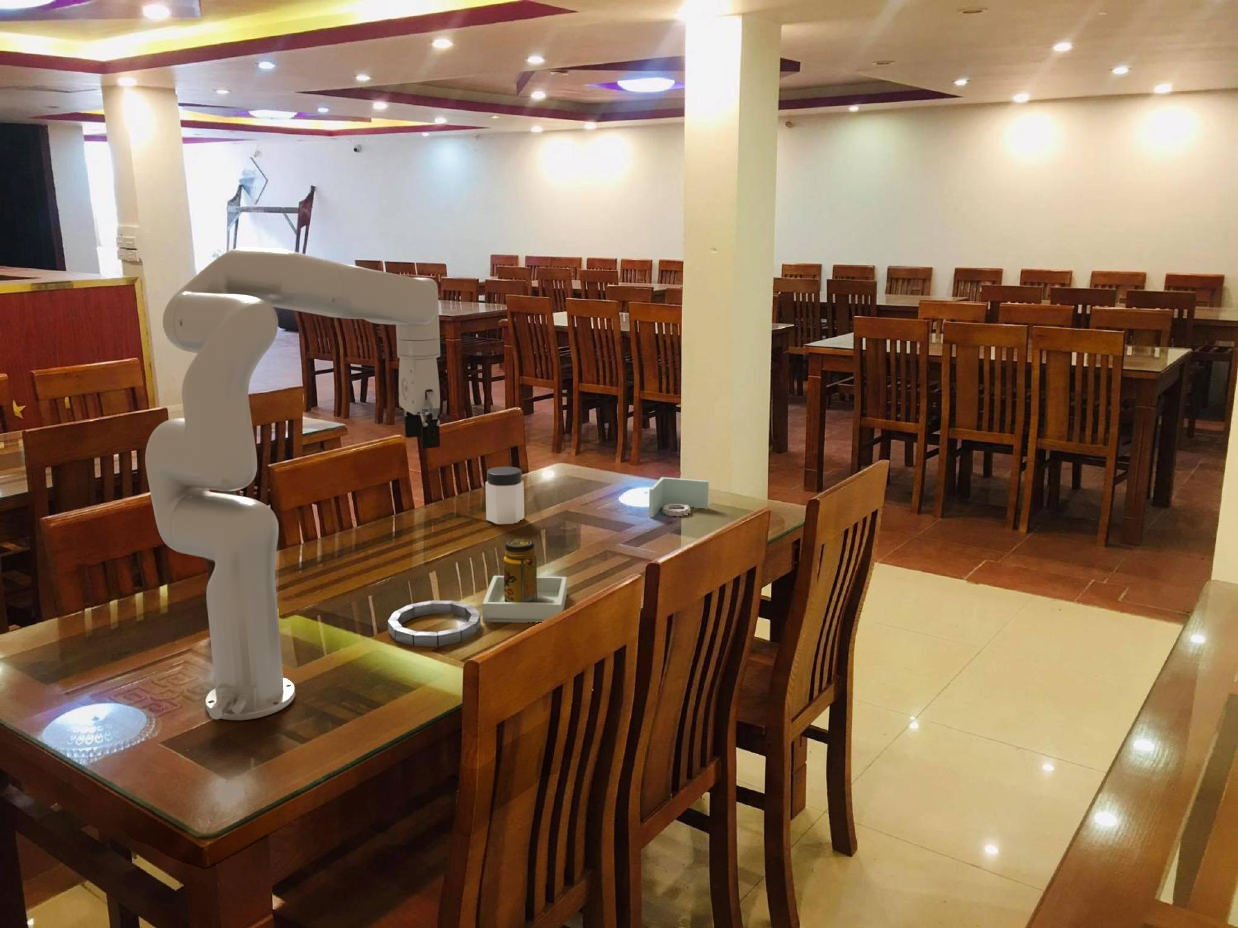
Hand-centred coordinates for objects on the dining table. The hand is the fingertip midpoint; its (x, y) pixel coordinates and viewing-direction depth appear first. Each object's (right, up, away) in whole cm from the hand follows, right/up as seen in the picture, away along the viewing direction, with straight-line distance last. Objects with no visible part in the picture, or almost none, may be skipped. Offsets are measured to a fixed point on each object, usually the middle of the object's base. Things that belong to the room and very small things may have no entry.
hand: (422, 442), depth 183 cm
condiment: (+18, -30, +3) cm, 35 cm away
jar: (+9, -17, +56) cm, 59 cm away
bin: (+19, -31, +3) cm, 36 cm away
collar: (+3, -33, -6) cm, 34 cm away
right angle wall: (+51, -17, +63) cm, 82 cm away
